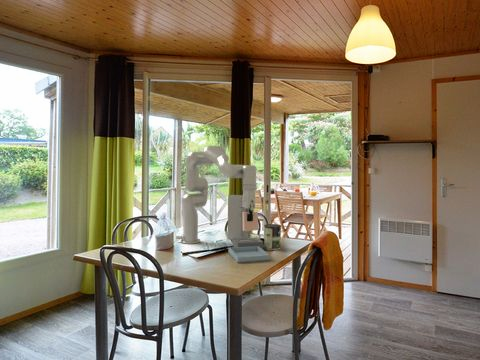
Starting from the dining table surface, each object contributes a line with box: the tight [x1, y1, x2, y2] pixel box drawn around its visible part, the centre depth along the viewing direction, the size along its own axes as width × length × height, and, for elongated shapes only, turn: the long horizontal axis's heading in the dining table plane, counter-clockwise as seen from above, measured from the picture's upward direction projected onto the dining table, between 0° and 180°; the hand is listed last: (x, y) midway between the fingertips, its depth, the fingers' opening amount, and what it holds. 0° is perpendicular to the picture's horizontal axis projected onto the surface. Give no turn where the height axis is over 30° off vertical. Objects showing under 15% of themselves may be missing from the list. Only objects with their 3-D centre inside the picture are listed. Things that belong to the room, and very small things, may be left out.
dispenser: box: [232, 236, 264, 250], centre depth 205 cm, size 16×12×6 cm
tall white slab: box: [227, 194, 251, 241], centre depth 228 cm, size 14×6×30 cm, turn 73°
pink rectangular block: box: [243, 211, 259, 232], centre depth 186 cm, size 8×3×10 cm, turn 105°
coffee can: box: [263, 223, 282, 251], centre depth 206 cm, size 10×10×14 cm
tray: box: [228, 246, 271, 264], centre depth 187 cm, size 18×20×3 cm
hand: (249, 220), depth 186 cm, fingers closed on pink rectangular block, 2 cm apart
